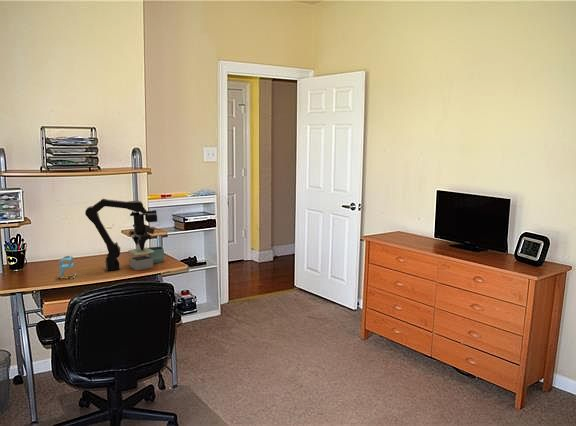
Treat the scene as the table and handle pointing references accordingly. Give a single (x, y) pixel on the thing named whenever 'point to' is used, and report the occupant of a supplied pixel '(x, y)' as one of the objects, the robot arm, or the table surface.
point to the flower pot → (157, 254)
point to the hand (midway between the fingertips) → (140, 249)
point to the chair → (65, 266)
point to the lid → (139, 251)
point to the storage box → (141, 262)
